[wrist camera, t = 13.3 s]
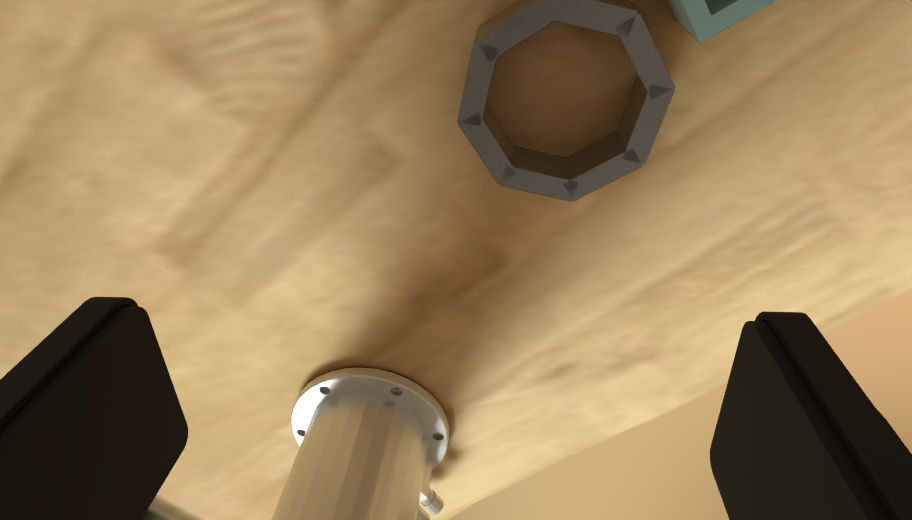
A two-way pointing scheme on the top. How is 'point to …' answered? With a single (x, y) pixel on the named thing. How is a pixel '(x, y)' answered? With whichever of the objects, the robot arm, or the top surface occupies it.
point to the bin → (711, 14)
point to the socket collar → (607, 10)
